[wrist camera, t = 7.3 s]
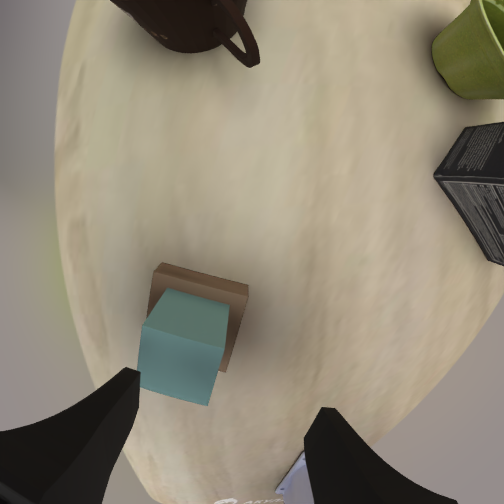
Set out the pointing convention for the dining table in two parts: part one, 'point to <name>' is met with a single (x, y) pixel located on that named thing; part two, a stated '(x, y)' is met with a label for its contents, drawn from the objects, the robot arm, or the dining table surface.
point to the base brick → (206, 289)
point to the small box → (478, 184)
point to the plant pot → (473, 51)
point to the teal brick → (183, 346)
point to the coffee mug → (195, 25)
